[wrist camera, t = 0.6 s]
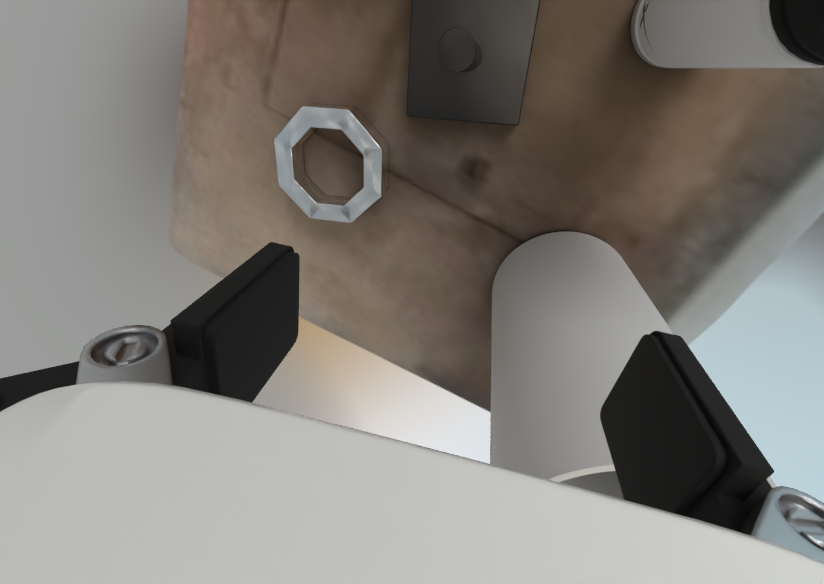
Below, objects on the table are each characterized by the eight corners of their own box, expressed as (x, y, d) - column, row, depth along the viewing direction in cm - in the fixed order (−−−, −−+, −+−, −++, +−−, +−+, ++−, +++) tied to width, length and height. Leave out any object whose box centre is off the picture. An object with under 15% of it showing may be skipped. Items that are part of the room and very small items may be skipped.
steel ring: (282, 101, 35) (269, 103, 33) (389, 109, 34) (382, 112, 32) (292, 207, 40) (281, 215, 38) (386, 218, 39) (380, 226, 36)
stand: (415, -19, 29) (371, -68, 19) (541, -14, 28) (569, -63, 18) (409, 115, 34) (370, 135, 23) (517, 123, 33) (528, 150, 22)
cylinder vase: (648, 238, 35) (891, 505, 14) (604, 350, 41) (724, 656, 20) (504, 220, 37) (518, 435, 15) (483, 331, 43) (471, 596, 21)
